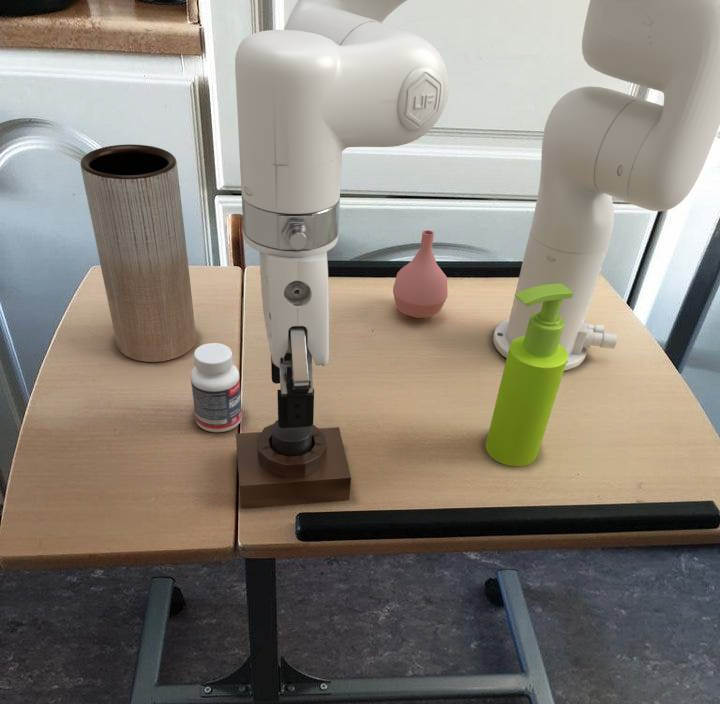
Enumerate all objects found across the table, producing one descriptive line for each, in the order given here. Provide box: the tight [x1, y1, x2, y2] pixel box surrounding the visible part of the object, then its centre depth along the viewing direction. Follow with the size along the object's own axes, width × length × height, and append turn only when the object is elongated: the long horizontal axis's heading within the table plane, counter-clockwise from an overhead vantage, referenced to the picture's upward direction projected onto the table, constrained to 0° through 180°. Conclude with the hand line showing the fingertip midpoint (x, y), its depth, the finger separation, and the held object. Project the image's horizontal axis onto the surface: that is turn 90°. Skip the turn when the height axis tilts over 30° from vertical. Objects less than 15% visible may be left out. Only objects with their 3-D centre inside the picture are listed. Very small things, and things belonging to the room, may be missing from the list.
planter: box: [79, 143, 197, 363], centre depth 83 cm, size 10×10×23 cm
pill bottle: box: [190, 342, 243, 433], centre depth 77 cm, size 5×5×9 cm
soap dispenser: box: [485, 284, 573, 467], centre depth 73 cm, size 6×7×20 cm
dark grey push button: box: [272, 419, 312, 457], centre depth 70 cm, size 4×4×2 cm
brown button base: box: [235, 423, 352, 509], centre depth 72 cm, size 11×8×5 cm
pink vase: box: [392, 229, 449, 319], centre depth 96 cm, size 8×8×12 cm
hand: (291, 401), depth 67 cm, fingers open, 6 cm apart
